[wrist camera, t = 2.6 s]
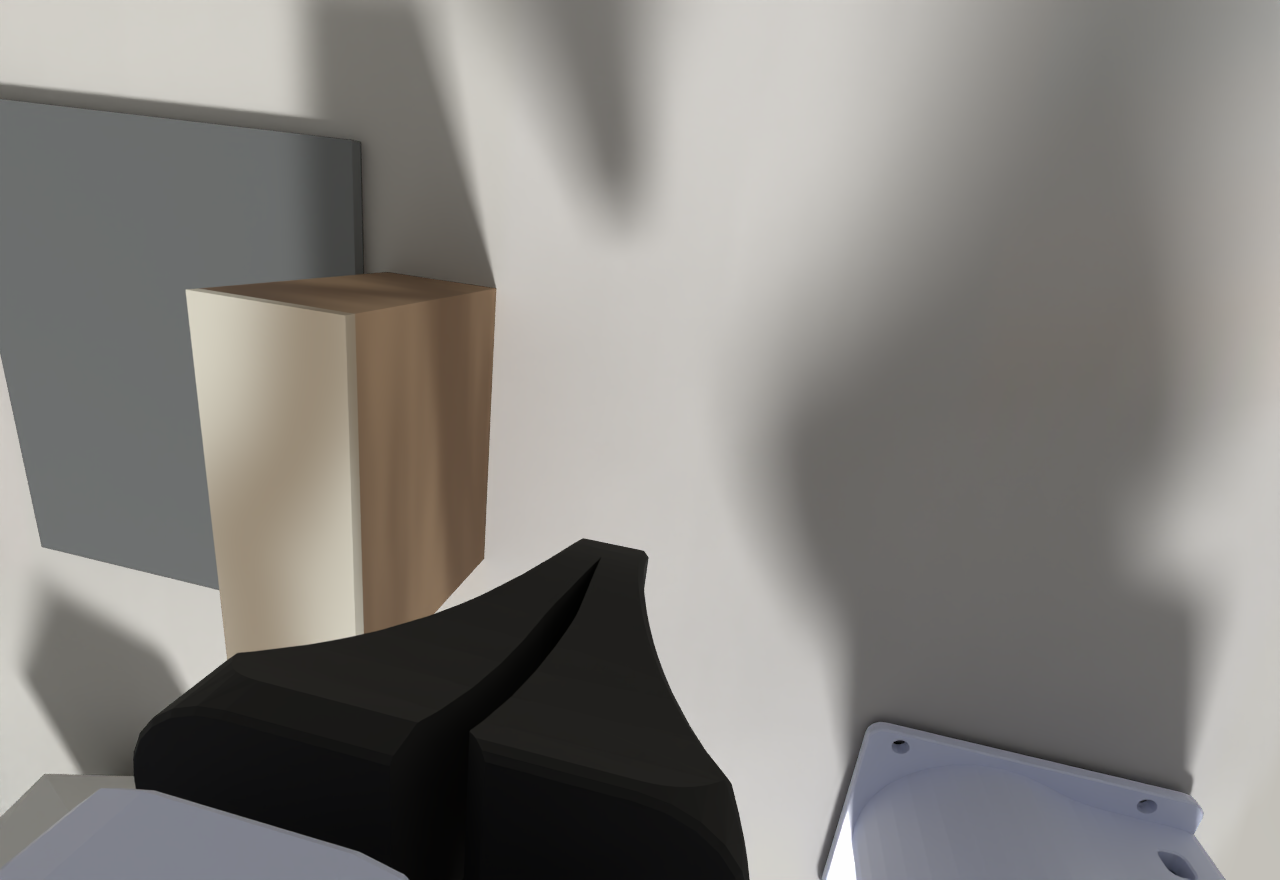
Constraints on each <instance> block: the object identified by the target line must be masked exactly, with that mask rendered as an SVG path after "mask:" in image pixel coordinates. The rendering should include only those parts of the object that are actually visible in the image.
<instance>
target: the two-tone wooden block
mask: <svg viewBox="0 0 1280 880" xmlns="http://www.w3.org/2000/svg"><path fill="white" fill-rule="evenodd" d="M186 299H187V308H188V317H189V326H190V334H191V343H192V352H193V361H194V370H195V378H196V387H197V396H198V405H199V414H200V423H201V431H202V440H203V449H204V458H205V467H206V476H207V484H208V493H209V502H210V511H211V520H212V529H213V537H214V546H215V555H216V564H217V573H218V582H219V590H220V599H221V608H222V617H223V626H224V635H225V643H226V652H227V660H228V659H230V658H231V657H232V656H234V655H235V654H236V653H241V652H252V651H260V650H268V649H277V648H285V647H293V646H301V645H308V644H314V643H320V642H326V641H331V640H337V639H342V638H347V637H352V636H357V635H361V634H365V633H370V632H374V631H378V630H382V629H386V628H389V627H393V626H396V625H400V624H403V623H406V622H410V621H413V620H416V619H420V618H423V617H427V616H430V615H433V614H434V613H435V612H436V611H437V610H438V609H439V608H440V607H441V606H442V604H443V603H444V602H445V601H446V600H447V599H448V598H449V597H450V596H451V594H452V593H453V592H454V591H455V590H456V589H457V588H458V587H459V586H460V585H461V583H462V582H463V581H464V580H465V579H466V578H467V577H468V576H469V575H470V573H471V572H472V571H473V570H474V569H475V568H476V567H477V566H478V565H479V564H480V562H481V561H482V560H483V559H484V548H485V526H486V504H487V482H488V460H489V438H490V416H491V393H492V371H493V349H494V327H495V305H496V288H490V287H483V286H476V285H470V284H463V283H456V282H450V281H443V280H436V279H430V278H423V277H416V276H410V275H403V274H396V273H390V272H382V273H371V274H359V275H348V276H336V277H325V278H313V279H301V280H290V281H278V282H267V283H255V284H244V285H232V286H220V287H209V288H197V289H186Z"/></svg>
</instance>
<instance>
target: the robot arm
mask: <svg viewBox="0 0 1280 880" xmlns="http://www.w3.org/2000/svg"><path fill="white" fill-rule="evenodd" d="M647 564H648V556H647V555H646V553H645V552H644V551H642V550H637V549H632V548H628V547H623V546H618V545H613V544H608V543H603V542H599V541H594V540H589V539H584V538H583V539H581V540H579V541H577V542H576V543H574V544H572V545H571V546H569V547H568V548H566V549H564V550H563V551H561V552H559V553H558V554H556V555H555V556H553V557H551V558H550V559H548V560H546V561H545V562H543V563H541V564H539V565H538V566H536V567H534V568H533V569H531V570H529V571H527V572H526V573H524V574H522V575H520V576H518V577H516V578H514V579H513V580H511V581H509V582H507V583H505V584H503V585H501V586H499V587H497V588H495V589H493V590H491V591H489V592H487V593H485V594H483V595H481V596H478V597H476V598H474V599H472V600H469V601H467V602H464V603H462V604H460V605H457V606H454V607H452V608H449V609H446V610H444V611H441V612H439V613H436V614H433V615H430V616H427V617H423V618H420V619H416V620H413V621H410V622H406V623H403V624H400V625H396V626H393V627H389V628H386V629H382V630H378V631H374V632H370V633H365V634H361V635H357V636H352V637H347V638H342V639H337V640H331V641H326V642H320V643H314V644H308V645H301V646H293V647H285V648H277V649H268V650H260V651H252V652H241V653H236V654H235V655H234V656H232V657H231V658H230V659H228V660H227V661H226V662H224V663H223V664H222V665H220V666H219V667H218V668H217V669H215V670H214V671H213V672H211V673H210V674H209V675H208V676H206V677H205V678H204V679H202V680H201V681H200V682H199V683H197V684H196V685H195V686H193V687H192V688H191V689H190V690H188V691H187V692H186V693H184V694H183V695H182V696H181V697H179V698H178V699H177V700H175V701H174V702H173V703H172V704H170V705H169V706H168V707H166V708H165V709H164V710H163V711H161V712H160V713H159V714H157V715H156V716H155V717H154V718H153V719H152V720H151V721H150V722H149V723H148V724H147V725H146V727H145V728H144V729H143V730H142V731H141V732H140V735H139V738H138V741H137V744H136V747H135V751H134V758H133V761H134V782H135V787H136V789H126V788H100V789H99V790H98V791H96V792H95V793H93V794H92V795H91V796H89V797H88V798H87V799H85V800H84V801H82V802H81V803H80V804H78V805H77V806H76V807H74V808H73V809H72V810H71V811H69V812H68V813H67V814H66V815H65V816H63V817H62V818H61V819H60V820H58V821H57V822H56V823H55V824H54V825H52V826H51V827H50V828H49V829H47V830H46V831H45V832H44V833H43V834H41V835H40V836H39V837H38V838H36V839H35V840H34V841H33V842H32V843H30V844H29V845H28V846H27V847H25V848H24V849H23V850H22V851H21V852H19V853H18V854H17V855H16V856H14V857H13V858H12V859H11V860H10V861H8V862H7V863H6V864H5V865H4V866H2V867H1V868H0V880H749V870H748V861H747V854H746V847H745V841H744V836H743V831H742V826H741V821H740V817H739V812H738V808H737V804H736V800H735V796H734V792H733V788H732V784H731V782H730V781H729V780H728V778H727V777H726V776H725V774H724V773H723V772H722V771H721V769H720V768H719V767H718V766H717V764H716V763H715V762H714V761H713V759H712V758H711V757H710V756H709V754H708V753H707V752H706V750H705V749H704V747H703V746H702V744H701V743H700V741H699V740H698V738H697V736H696V735H695V733H694V732H693V730H692V729H691V727H690V725H689V723H688V722H687V720H686V718H685V716H684V714H683V712H682V710H681V708H680V706H679V705H678V703H677V701H676V699H675V697H674V695H673V693H672V691H671V689H670V686H669V684H668V682H667V679H666V677H665V675H664V672H663V669H662V667H661V664H660V661H659V658H658V655H657V652H656V649H655V646H654V642H653V639H652V634H651V630H650V626H649V621H648V616H647V610H646V603H645V595H644V586H645V579H646V572H647ZM897 740H903V741H905V743H903V744H894V743H893V742H895V741H897ZM1145 799H1146V800H1147V801H1144V802H1140V801H1142V800H1145ZM1203 814H1204V813H1203V810H1202V808H1201V807H1200V805H1199V804H1198V803H1197V801H1196V800H1195V799H1194V798H1193V797H1192V796H1191V795H1188V794H1186V793H1182V792H1178V791H1174V790H1170V789H1166V788H1161V787H1157V786H1153V785H1149V784H1144V783H1140V782H1136V781H1132V780H1127V779H1123V778H1119V777H1115V776H1111V775H1106V774H1102V773H1098V772H1094V771H1089V770H1085V769H1081V768H1077V767H1073V766H1068V765H1064V764H1060V763H1056V762H1051V761H1047V760H1043V759H1039V758H1034V757H1030V756H1026V755H1022V754H1018V753H1013V752H1009V751H1005V750H1001V749H996V748H992V747H988V746H984V745H980V744H975V743H971V742H967V741H963V740H958V739H954V738H950V737H946V736H941V735H937V734H933V733H929V732H925V731H920V730H916V729H912V728H908V727H903V726H899V725H895V724H891V723H887V722H877V723H873V724H872V725H870V726H869V727H868V728H867V730H866V732H865V736H864V739H863V742H862V746H861V749H860V752H859V756H858V759H857V762H856V766H855V769H854V772H853V776H852V779H851V782H850V786H849V789H848V792H847V795H846V799H845V802H844V805H843V809H842V812H841V815H840V819H839V822H838V825H837V829H836V832H835V835H834V839H833V842H832V845H831V849H830V852H829V855H828V859H827V862H826V865H825V869H824V872H823V875H822V879H821V880H1226V879H1225V878H1224V877H1223V875H1222V874H1221V872H1220V871H1219V870H1218V868H1217V867H1216V865H1215V864H1214V862H1213V861H1212V860H1211V858H1210V857H1209V855H1208V854H1207V852H1206V851H1205V850H1204V848H1203V847H1202V845H1201V844H1200V843H1199V841H1198V840H1197V838H1196V837H1195V836H1194V833H1195V831H1196V829H1197V828H1198V826H1199V824H1200V822H1201V820H1202V818H1203Z"/></svg>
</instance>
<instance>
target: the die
mask: <svg viewBox="0 0 1280 880" xmlns="http://www.w3.org/2000/svg"><path fill="white" fill-rule="evenodd" d="M100 788H126V789H136V787H135V782H134V776H107V775H67V774H44V775H43V776H42V777H41V778H40V779H39V780H38V781H37V782H36V783H35V784H34V785H33V786H32V787H31V788H30V789H29V790H28V791H27V792H26V793H25V794H24V795H23V796H22V797H21V798H20V799H19V800H18V801H17V802H16V803H15V804H14V805H13V806H12V807H11V808H10V809H8V810H7V811H6V812H5V813H4V814H3V815H2V816H1V817H0V868H1V867H2V866H4V865H5V864H6V863H7V862H8V861H10V860H11V859H12V858H13V857H14V856H16V855H17V854H18V853H19V852H21V851H22V850H23V849H24V848H25V847H27V846H28V845H29V844H30V843H32V842H33V841H34V840H35V839H36V838H38V837H39V836H40V835H41V834H43V833H44V832H45V831H46V830H47V829H49V828H50V827H51V826H52V825H54V824H55V823H56V822H57V821H58V820H60V819H61V818H62V817H63V816H65V815H66V814H67V813H68V812H69V811H71V810H72V809H73V808H74V807H76V806H77V805H78V804H80V803H81V802H82V801H84V800H85V799H87V798H88V797H89V796H91V795H92V794H93V793H95V792H96V791H98V790H99V789H100Z"/></svg>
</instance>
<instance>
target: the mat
mask: <svg viewBox="0 0 1280 880" xmlns="http://www.w3.org/2000/svg"><path fill="white" fill-rule="evenodd" d="M359 274H363V234H362V190H361V145H360V142H358V141H354V140H348V139H339V138H331V137H322V136H314V135H305V134H296V133H288V132H279V131H271V130H262V129H253V128H245V127H236V126H228V125H219V124H211V123H202V122H193V121H185V120H176V119H168V118H159V117H150V116H142V115H133V114H125V113H116V112H107V111H99V110H90V109H82V108H73V107H64V106H56V105H47V104H39V103H30V102H21V101H13V100H4V99H0V354H1V359H2V364H3V368H4V373H5V378H6V382H7V387H8V392H9V396H10V401H11V406H12V410H13V415H14V420H15V424H16V429H17V434H18V438H19V443H20V448H21V452H22V457H23V462H24V466H25V471H26V476H27V480H28V485H29V490H30V494H31V499H32V504H33V508H34V513H35V518H36V522H37V527H38V532H39V536H40V541H41V546H42V547H44V548H48V549H53V550H57V551H61V552H65V553H69V554H73V555H77V556H81V557H85V558H90V559H94V560H98V561H102V562H106V563H110V564H114V565H118V566H122V567H126V568H131V569H135V570H139V571H143V572H147V573H151V574H155V575H159V576H163V577H168V578H172V579H176V580H180V581H184V582H188V583H192V584H196V585H200V586H205V587H209V588H213V589H217V590H219V582H218V573H217V564H216V555H215V546H214V537H213V529H212V520H211V511H210V502H209V493H208V484H207V476H206V467H205V458H204V449H203V440H202V431H201V423H200V414H199V405H198V396H197V387H196V378H195V370H194V361H193V352H192V343H191V334H190V326H189V317H188V308H187V299H186V289H197V288H209V287H220V286H232V285H244V284H255V283H267V282H278V281H290V280H301V279H313V278H325V277H336V276H348V275H359Z"/></svg>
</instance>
